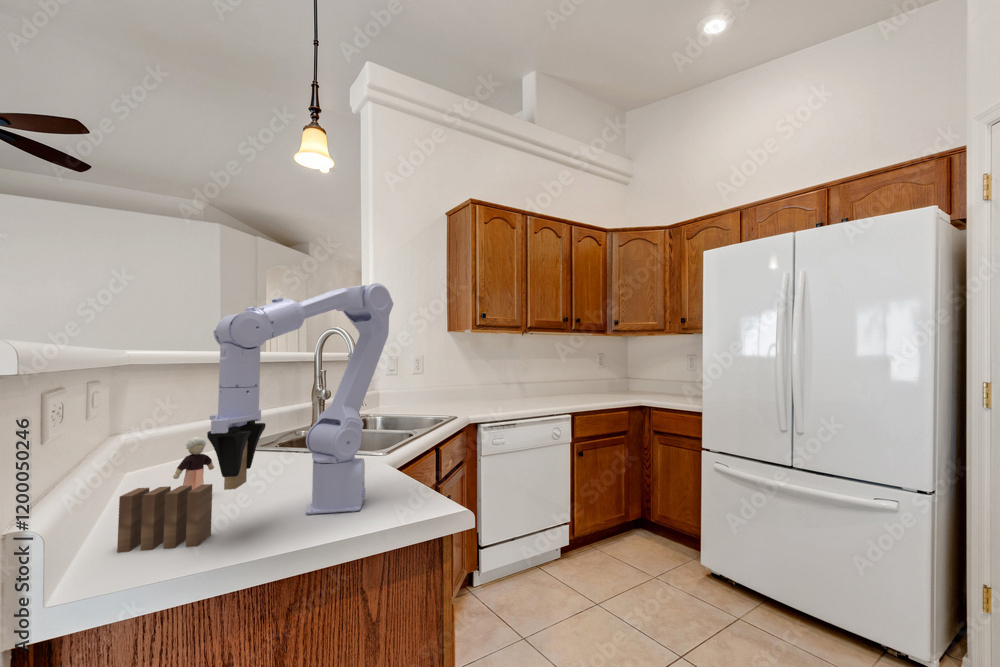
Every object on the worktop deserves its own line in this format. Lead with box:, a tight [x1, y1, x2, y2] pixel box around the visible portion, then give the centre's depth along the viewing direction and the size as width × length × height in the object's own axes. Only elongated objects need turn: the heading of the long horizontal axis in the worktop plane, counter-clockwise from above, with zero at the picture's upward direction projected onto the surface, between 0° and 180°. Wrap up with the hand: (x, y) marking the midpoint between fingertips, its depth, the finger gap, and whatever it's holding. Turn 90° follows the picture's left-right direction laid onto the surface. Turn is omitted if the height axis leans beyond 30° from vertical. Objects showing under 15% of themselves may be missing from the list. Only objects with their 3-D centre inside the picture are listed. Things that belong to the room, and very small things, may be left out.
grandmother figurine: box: [172, 436, 215, 490], centre depth 89 cm, size 8×4×13 cm, turn 168°
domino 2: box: [140, 485, 172, 552], centre depth 68 cm, size 2×4×8 cm, turn 11°
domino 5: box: [223, 439, 248, 491], centre depth 71 cm, size 2×4×8 cm, turn 10°
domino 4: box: [185, 483, 213, 548], centre depth 69 cm, size 2×4×8 cm, turn 10°
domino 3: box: [162, 485, 192, 550], centre depth 68 cm, size 2×4×8 cm, turn 11°
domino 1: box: [116, 487, 150, 553], centre depth 67 cm, size 2×4×8 cm, turn 10°
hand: (237, 472), depth 71 cm, fingers closed on domino 5, 4 cm apart
